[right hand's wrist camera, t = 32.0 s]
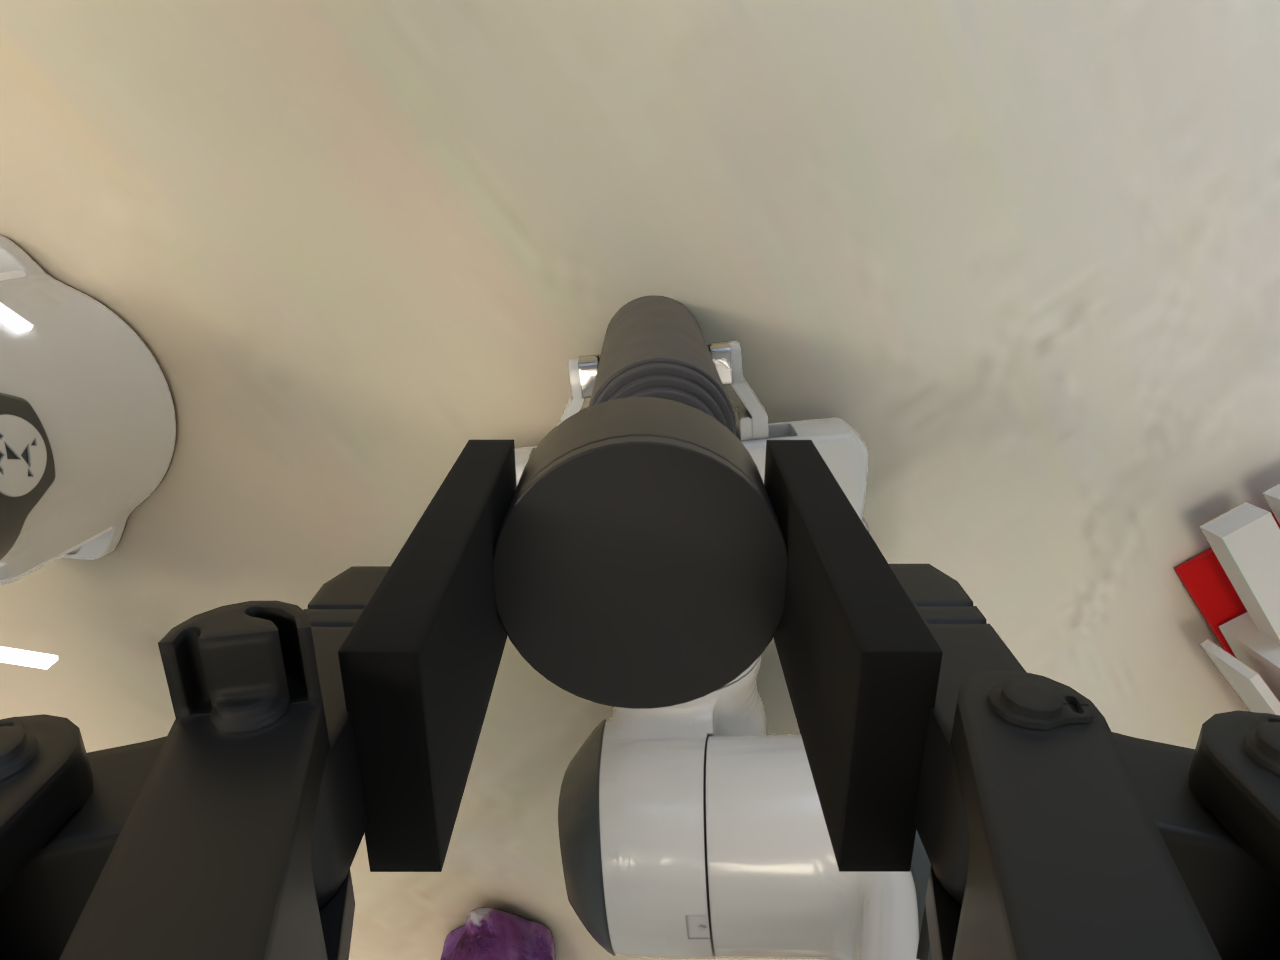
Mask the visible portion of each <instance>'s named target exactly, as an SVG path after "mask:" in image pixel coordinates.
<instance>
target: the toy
mask: <svg viewBox="0 0 1280 960" xmlns="http://www.w3.org/2000/svg"><path fill="white" fill-rule="evenodd" d="M1263 495H1264V497H1265V499H1266V501H1267V502H1268V504H1269V506H1270V508H1271V510H1272V512H1273V514H1271V512H1269V511H1266V510H1264V509H1261V508H1259V507H1257V506H1254V505H1252V504H1249V503H1247V502H1244V503H1243V504H1241V505H1239V506H1237V507H1235V508H1233V509H1231V510H1230V511H1228V512H1226V513H1224V514H1222V515H1220V516H1218V517H1217V518H1215V519H1213V520H1211V521H1209V522H1207V523H1205V524H1204V525H1202V526H1200V528H1201V530H1202V532H1203V534H1204V535H1205V537H1206V539H1207V541H1208V543H1209V544H1210V546H1211V548H1210V549H1208V550H1206V551H1205V552H1203V553H1201V554H1199V555H1198V556H1196V557H1194V558H1192V559H1190V560H1189V561H1187V562H1185V563H1183V564H1181V565H1180V566H1178V567H1176V568H1174V570H1175V571H1176V573H1177V575H1178V576H1179V578H1180V579H1181V581H1182V583H1183V584H1184V586H1185V587H1186V589H1187V591H1188V592H1189V594H1190V596H1191V597H1192V599H1193V600H1194V602H1195V604H1196V605H1197V607H1198V608H1199V610H1200V612H1201V613H1202V615H1203V616H1204V618H1205V620H1206V621H1207V623H1208V624H1209V626H1210V628H1211V629H1212V631H1213V632H1214V634H1215V636H1216V637H1217V639H1218V640H1219V642H1220V644H1221V645H1222V647H1223V648H1224V650H1223V649H1222V648H1220V647H1219V646H1218V645H1216V644H1215V643H1213V642H1212V641H1210V640H1209V639H1207V640H1205V641H1204V642H1202V643H1201V644H1200V645H1201V647H1202V648H1203V649H1204V651H1205V652H1206V653H1207V654H1208V656H1209V657H1210V658H1211V660H1212V661H1213V662H1214V664H1215V665H1216V666H1217V668H1218V669H1219V670H1220V672H1221V673H1222V674H1223V676H1224V677H1225V678H1226V680H1227V681H1228V682H1229V684H1230V685H1231V686H1232V688H1233V689H1234V690H1235V691H1236V693H1237V694H1238V695H1239V697H1240V698H1241V699H1242V701H1243V702H1244V703H1245V705H1246V706H1247V707H1248V709H1249V710H1250V711H1251V712H1256V713H1269V714H1274V715H1280V484H1278V485H1276V486H1274V487H1272V488H1270V489H1269V490H1267V491H1265V492H1263Z"/></svg>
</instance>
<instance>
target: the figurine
mask: <svg viewBox="0 0 1280 960" xmlns="http://www.w3.org/2000/svg"><path fill="white" fill-rule="evenodd" d="M441 960H555V947H554V943H553V937H552V934H551V932H550V930H548V929H547V928H546V926H545V925H542V924H540V923H537V922H535V921H532V922H531V921H528V920H526V919H524V918H521V917H519V916H516V915H514V914H511V913H508V912H505V911H501V910H497V909H494V908H477V909H474V910H473V911H471V912H470V913H469V914H468V917H467V921H466V924H465V925H464V926H462V927H460V928H458V929H456V930H453V931H452V932H450V933H449V934H448V935H447V937H446V939H445V942H444V948H443V953H442V956H441Z"/></svg>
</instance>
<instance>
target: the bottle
mask: <svg viewBox="0 0 1280 960" xmlns="http://www.w3.org/2000/svg"><path fill="white" fill-rule="evenodd" d="M627 397H654V398H662V399H669V400H672V401H676V402H680V403H684V404H686V405H689V406H691V407H694V408H696V409H699V410H701V411H703V412H704V413H706V414H708V415H710V416H711V417H713V418H715V419H716V420H717V421H719V422H720V423H721V424H723V425H724V426H725V427H727V428H728V429H729V430H730V431H731V432H732V433H733V434H734V435H735V436H736V423H735V416H734V412H733V408H732V406H731V403H730V401H729V398H728V396H727V393H726V391H725V388H724V386H723V384H722V381H721V379H720V376H719V374H718V371H717V369H716V366H715V364H714V361H713V359H712V357H711V354H710V352H709V349H708V347H707V344H706V342H705V339H704V337H703V334H702V332H701V330H700V327H699V325H698V322H697V321H696V319H695V317H694V316H693V315H692V313H691V312H690V311H689V310H688V309H687V308H686V307H684V306H683V305H682V304H680V303H679V302H677V301H675V300H673V299H670V298H667V297H663V296H646V297H641V298H638V299H635V300H633V301H631V302H629V303H627V304H626V305H624V306H623V307H622V308H621V309H620V310H619V311H618V312H617V313H616V314H615V315H614V317H613V318H612V320H611V322H610V323H609V325H608V328H607V331H606V335H605V339H604V344H603V348H602V352H601V357H600V361H599V365H598V370H597V374H596V378H595V383H594V387H593V391H592V396H591V400H590V404H589V407H591V406H593V405H596V404H598V403H602V402H606V401H609V400H613V399H620V398H627Z"/></svg>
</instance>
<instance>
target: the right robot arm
mask: <svg viewBox="0 0 1280 960" xmlns="http://www.w3.org/2000/svg"><path fill="white" fill-rule="evenodd" d="M764 485H765V488H766V491H767V493H768V496H769V498H770V501H771V504H772V506H773V509H774V511H775V514H776V517H777V519H778V522H779V524H780V527H781V530H782V532H783V535H784V537H785V540H786V545H787V549H788V561H787V576H786V590H785V605H784V614H783V617H782V620H781V623H780V625H779V627H778V629H777V631H776V633H775V635H774V636H773V637H774V641H775V644H776V648H777V651H778V655H779V659H780V662H781V666H782V669H783V673H784V676H785V680H786V684H787V687H788V691H789V694H790V698H791V701H792V705H793V708H794V712H795V716H796V719H797V723H798V726H799V730H800V733H801V737H802V740H803V744H804V748H805V751H806V755H807V758H808V762H809V765H810V769H811V773H812V776H813V780H814V783H815V787H816V790H817V794H818V797H819V801H820V805H821V808H822V812H823V815H824V819H825V822H826V826H827V829H828V833H829V837H830V840H831V844H832V847H833V851H834V854H835V858H836V861H837V865H838V869H839V872H910V869H911V862H912V855H913V849H914V842H915V835H916V829H917V832H918V834H919V836H920V839H921V841H922V844H923V846H924V849H925V851H926V853H927V856H928V858H929V861H930V863H931V867H930V873H929V879H928V886H927V892H926V898H925V904H924V911H923V917H922V923H921V929H920V936H919V942H918V949H917V956H916V959H921V960H928V955H929V949H931V957H932V960H1280V715H1274V714H1269V713H1256V712H1246V711H1233V712H1227V713H1220V714H1215V715H1214V716H1212V717H1211V718H1210V719H1209V720H1207V721H1206V722H1205V723H1204V724H1203V725H1202V728H1201V732H1200V735H1199V739H1198V742H1197V746H1196V749H1190V748H1184V747H1179V746H1174V745H1169V744H1164V743H1159V742H1154V741H1149V740H1143V739H1138V738H1133V737H1129V736H1125V735H1121V734H1118V733H1114V732H1111V730H1110V728H1109V726H1108V724H1107V722H1106V720H1105V718H1104V717H1103V715H1102V714H1101V713H1100V712H1099V710H1098V709H1097V708H1096V707H1095V705H1094V704H1093V703H1092V702H1091V701H1090V700H1089V699H1087V698H1086V697H1084V696H1083V695H1081V694H1080V693H1078V692H1077V691H1075V690H1074V689H1072V688H1071V687H1069V686H1066V685H1064V684H1061V683H1059V682H1057V681H1054V680H1052V679H1049V678H1047V677H1044V676H1040V675H1035V674H1031V673H1027V672H1026V671H1025V670H1024V668H1023V667H1022V666H1021V665H1020V663H1019V662H1018V661H1017V659H1016V658H1015V657H1014V655H1013V654H1012V653H1011V651H1010V650H1009V649H1008V647H1007V646H1006V645H1005V643H1004V642H1003V641H1002V640H1001V638H1000V637H999V636H998V634H997V633H996V632H995V630H994V629H993V628H992V626H991V625H990V624H986V618H985V617H984V616H983V614H982V613H981V612H980V611H979V609H978V608H977V607H976V606H973V601H972V600H971V599H970V597H969V596H968V595H967V593H966V592H965V591H964V589H963V588H962V587H961V586H960V584H959V583H958V582H957V581H956V580H954V579H952V578H951V577H949V576H948V575H946V574H944V573H943V572H941V571H940V570H938V569H936V568H935V567H933V566H932V565H930V564H888V563H887V561H886V560H885V558H884V556H883V555H882V553H881V551H880V550H879V548H878V547H877V545H876V543H875V542H874V540H873V539H872V537H871V535H870V534H869V532H868V531H867V529H866V527H865V526H864V524H863V522H862V521H861V519H860V518H859V516H858V514H857V513H856V511H855V510H854V508H853V506H852V505H851V503H850V501H849V500H848V498H847V497H846V495H845V493H844V492H843V490H842V489H841V487H840V485H839V484H838V482H837V481H836V479H835V477H834V476H833V474H832V472H831V471H830V469H829V468H828V466H827V464H826V463H825V461H824V460H823V458H822V456H821V455H820V453H819V451H818V450H817V448H816V447H815V445H814V443H813V442H812V440H766V457H765V475H764ZM516 488H517V483H516V465H515V447H514V440H469V441H468V443H467V444H466V446H465V448H464V449H463V451H462V452H461V454H460V456H459V457H458V459H457V460H456V462H455V464H454V465H453V467H452V469H451V470H450V472H449V473H448V475H447V477H446V478H445V480H444V481H443V483H442V485H441V486H440V488H439V490H438V491H437V493H436V494H435V496H434V498H433V499H432V501H431V502H430V504H429V506H428V507H427V509H426V510H425V512H424V514H423V515H422V517H421V519H420V520H419V522H418V523H417V525H416V527H415V528H414V530H413V531H412V533H411V535H410V536H409V538H408V540H407V541H406V543H405V544H404V546H403V548H402V549H401V551H400V552H399V554H398V556H397V557H396V559H395V561H394V562H393V564H392V565H391V567H351V568H349V569H347V570H346V571H344V572H343V573H341V574H339V575H338V576H336V577H335V578H333V579H331V580H330V581H328V582H327V583H325V584H323V586H322V587H321V588H320V590H319V591H318V592H317V594H316V595H315V596H314V598H313V599H312V600H311V602H310V603H309V604H308V609H305V610H302V609H301V608H300V607H299V606H297V605H293V604H289V603H284V602H280V601H248V602H243V603H237V604H232V605H226V606H221V607H219V608H216V609H213V610H210V611H207V612H204V613H201V614H198V615H195V616H194V617H192V618H190V619H188V620H186V621H185V622H183V623H181V624H179V625H178V626H176V627H174V628H172V629H171V630H170V631H169V632H168V634H167V635H166V636H165V637H164V638H163V639H162V640H161V641H160V642H159V643H158V645H159V649H160V653H161V658H162V662H163V666H164V670H165V674H166V679H167V683H168V687H169V691H170V696H171V700H172V704H173V708H174V713H175V717H176V719H175V721H174V724H173V726H172V728H171V730H170V732H169V734H168V736H166V737H162V738H158V739H154V740H150V741H146V742H141V743H136V744H131V745H126V746H120V747H115V748H110V749H105V750H100V751H95V752H90V753H86V750H85V747H84V743H83V740H82V736H81V733H80V729H79V728H78V727H77V726H76V725H75V724H73V723H72V722H71V721H70V720H68V719H67V718H63V717H57V716H51V715H34V716H23V717H12V718H7V719H2V720H0V960H348V959H349V951H350V942H351V934H352V926H353V917H354V909H355V900H354V893H353V886H352V879H351V873H350V866H351V864H352V862H353V859H354V857H355V854H356V852H357V849H358V847H359V845H360V842H361V840H362V837H363V835H364V832H365V838H366V845H367V852H368V858H369V865H370V872H441V871H442V867H443V863H444V860H445V856H446V853H447V849H448V846H449V842H450V839H451V835H452V831H453V828H454V824H455V821H456V817H457V814H458V810H459V806H460V803H461V799H462V796H463V792H464V789H465V785H466V782H467V778H468V774H469V771H470V767H471V764H472V760H473V757H474V753H475V750H476V746H477V742H478V739H479V735H480V732H481V728H482V725H483V721H484V717H485V714H486V710H487V707H488V703H489V700H490V696H491V693H492V689H493V685H494V682H495V678H496V675H497V671H498V668H499V664H500V661H501V657H502V653H503V650H504V646H505V643H506V639H507V636H508V635H507V633H506V631H505V629H504V627H503V626H502V623H501V620H500V618H499V615H498V612H497V608H496V596H495V581H494V566H493V553H494V549H495V544H496V540H497V537H498V535H499V532H500V529H501V527H502V524H503V522H504V519H505V516H506V514H507V511H508V509H509V506H510V503H511V501H512V498H513V496H514V493H515V491H516Z"/></svg>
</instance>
